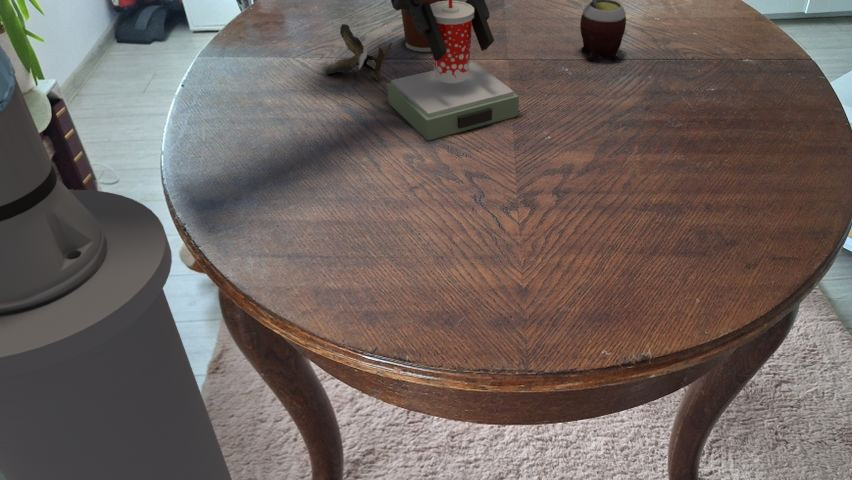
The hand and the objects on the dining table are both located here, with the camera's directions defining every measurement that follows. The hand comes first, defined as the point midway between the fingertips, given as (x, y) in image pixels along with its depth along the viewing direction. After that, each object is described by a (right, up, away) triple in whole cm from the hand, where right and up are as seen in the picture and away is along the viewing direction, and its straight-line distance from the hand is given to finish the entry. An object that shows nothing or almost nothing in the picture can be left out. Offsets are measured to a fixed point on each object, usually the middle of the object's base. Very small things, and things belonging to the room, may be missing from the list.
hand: (464, 50), depth 94 cm
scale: (-2, -6, +9) cm, 11 cm away
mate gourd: (+20, +7, +24) cm, 32 cm away
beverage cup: (-2, -2, +6) cm, 6 cm away
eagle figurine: (-17, +2, +17) cm, 24 cm away
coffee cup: (-8, +9, +26) cm, 28 cm away
